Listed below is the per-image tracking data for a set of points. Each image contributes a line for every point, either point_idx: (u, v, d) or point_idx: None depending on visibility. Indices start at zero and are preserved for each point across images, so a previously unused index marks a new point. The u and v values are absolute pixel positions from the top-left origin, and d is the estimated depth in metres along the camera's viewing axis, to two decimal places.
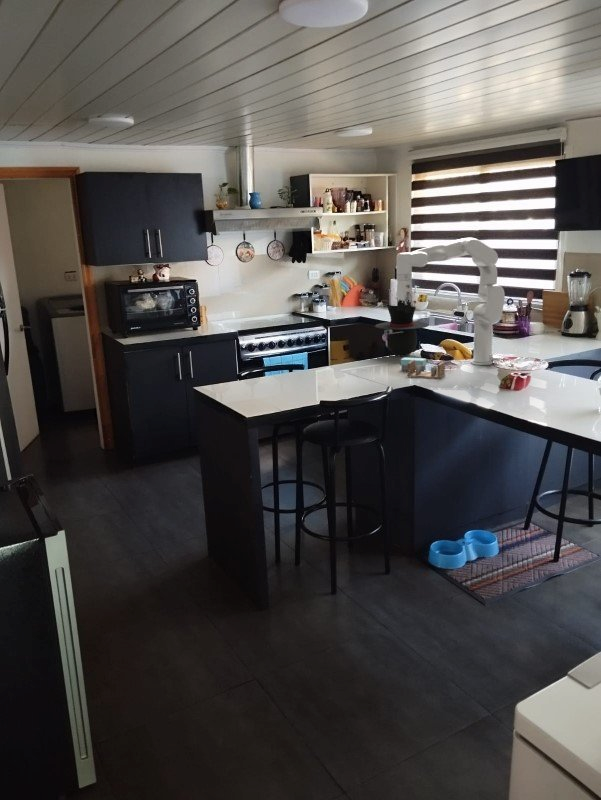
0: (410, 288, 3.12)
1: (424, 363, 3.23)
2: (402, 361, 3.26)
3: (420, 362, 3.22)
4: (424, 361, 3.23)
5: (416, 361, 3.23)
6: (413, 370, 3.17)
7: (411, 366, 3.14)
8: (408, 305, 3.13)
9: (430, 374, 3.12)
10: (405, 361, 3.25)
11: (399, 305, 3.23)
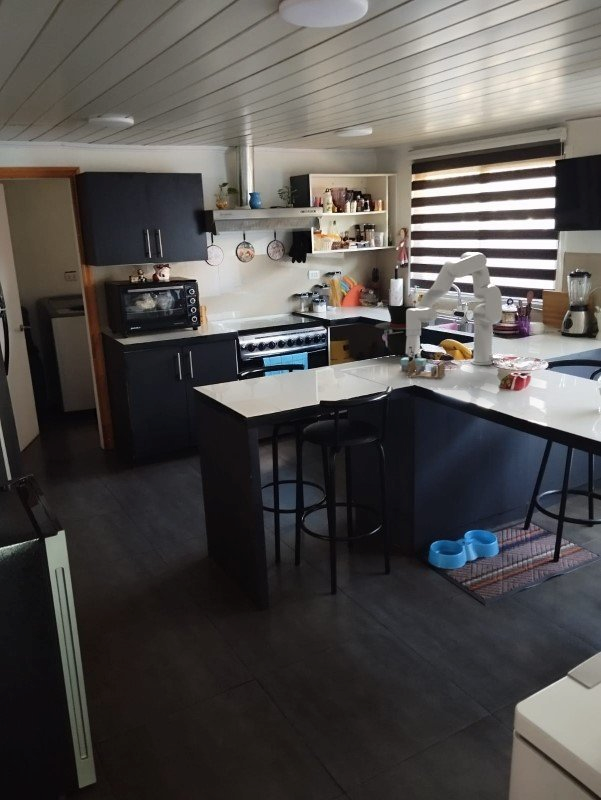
0: None
1: (424, 363, 3.23)
2: (402, 361, 3.26)
3: (420, 362, 3.22)
4: (424, 361, 3.23)
5: (416, 361, 3.23)
6: (413, 370, 3.17)
7: (411, 366, 3.14)
8: None
9: (430, 374, 3.12)
10: (405, 361, 3.25)
11: None
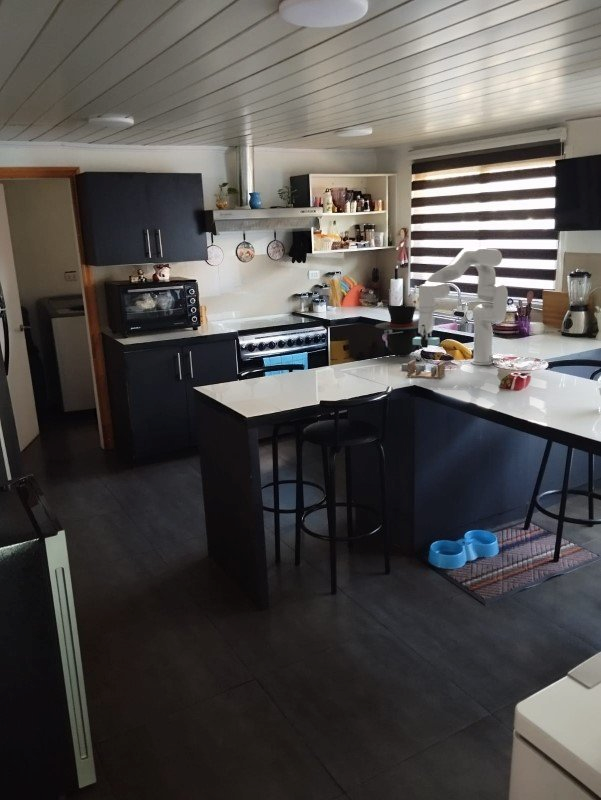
0: None
1: (437, 342, 3.06)
2: (414, 340, 3.09)
3: (433, 341, 3.04)
4: (437, 340, 3.06)
5: (429, 340, 3.05)
6: (413, 370, 3.17)
7: (411, 366, 3.14)
8: None
9: (430, 374, 3.12)
10: (417, 340, 3.08)
11: None
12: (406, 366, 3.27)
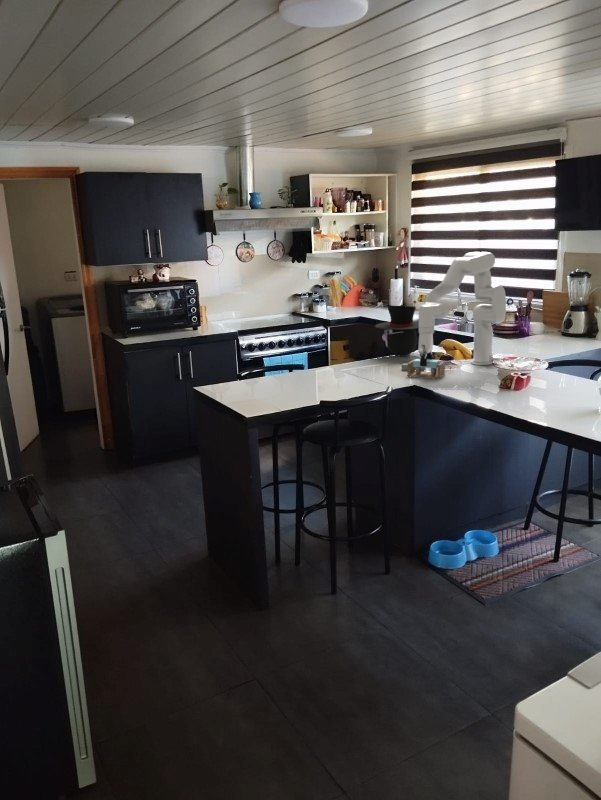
0: None
1: (437, 365, 3.09)
2: (414, 363, 3.12)
3: (433, 364, 3.07)
4: (437, 363, 3.09)
5: (429, 363, 3.08)
6: (413, 370, 3.17)
7: (411, 366, 3.14)
8: None
9: (430, 374, 3.12)
10: (417, 363, 3.11)
11: None
12: (406, 366, 3.27)
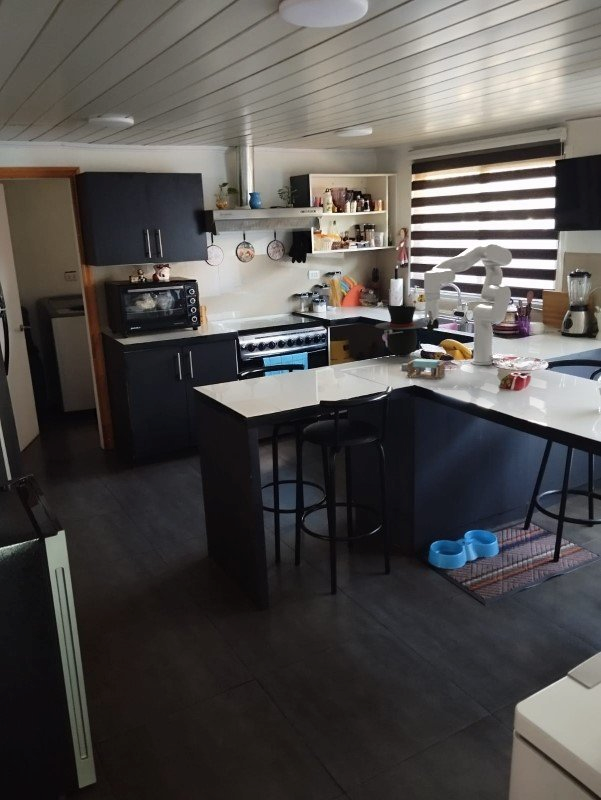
0: None
1: (437, 365, 3.09)
2: (414, 363, 3.12)
3: (433, 364, 3.07)
4: (437, 363, 3.09)
5: (429, 363, 3.08)
6: (413, 370, 3.17)
7: (411, 366, 3.14)
8: None
9: (430, 374, 3.12)
10: (417, 363, 3.11)
11: None
12: (406, 366, 3.27)
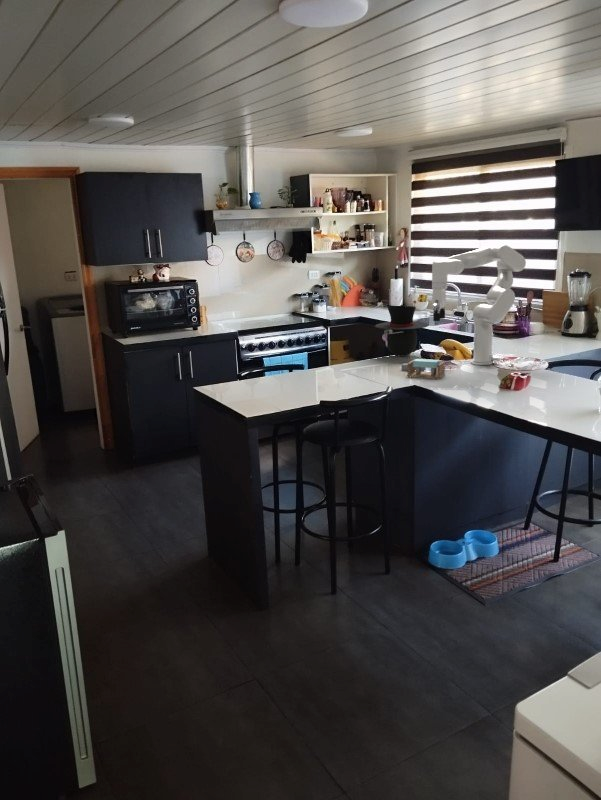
0: None
1: (437, 365, 3.09)
2: (414, 363, 3.12)
3: (433, 364, 3.07)
4: (437, 363, 3.09)
5: (429, 363, 3.08)
6: (413, 370, 3.17)
7: (411, 366, 3.14)
8: None
9: (430, 374, 3.12)
10: (417, 363, 3.11)
11: None
12: (406, 366, 3.27)
